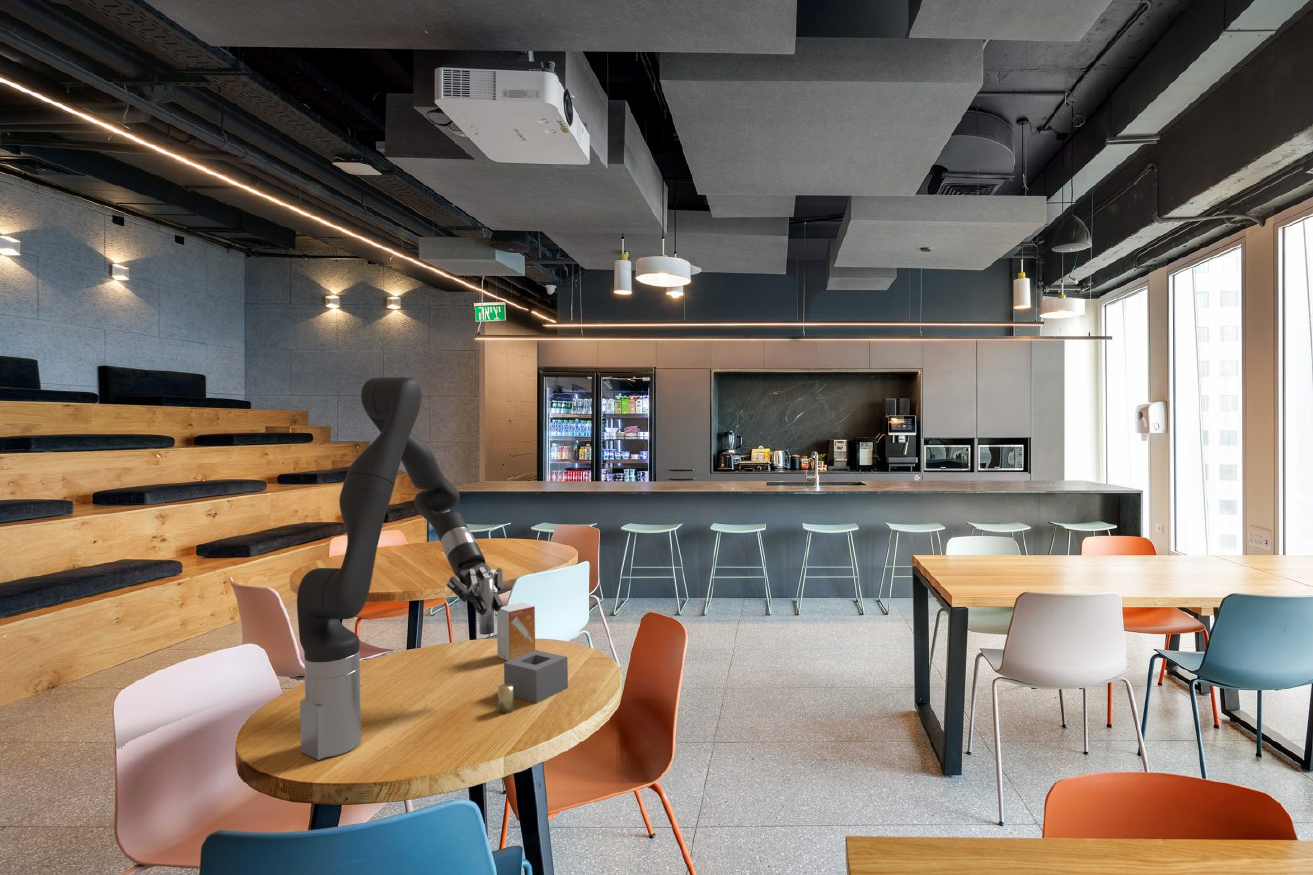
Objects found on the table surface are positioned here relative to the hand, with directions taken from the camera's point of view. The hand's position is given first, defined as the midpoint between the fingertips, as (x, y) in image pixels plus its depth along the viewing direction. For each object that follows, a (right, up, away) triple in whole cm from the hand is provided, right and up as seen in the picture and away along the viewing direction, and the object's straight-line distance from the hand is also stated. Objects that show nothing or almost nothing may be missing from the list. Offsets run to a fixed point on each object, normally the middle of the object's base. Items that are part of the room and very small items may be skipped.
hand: (491, 610), depth 140 cm
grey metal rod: (-1, -5, +1) cm, 6 cm away
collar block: (+10, -19, +2) cm, 21 cm away
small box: (0, -20, +27) cm, 33 cm away
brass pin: (+5, -19, -8) cm, 21 cm away
